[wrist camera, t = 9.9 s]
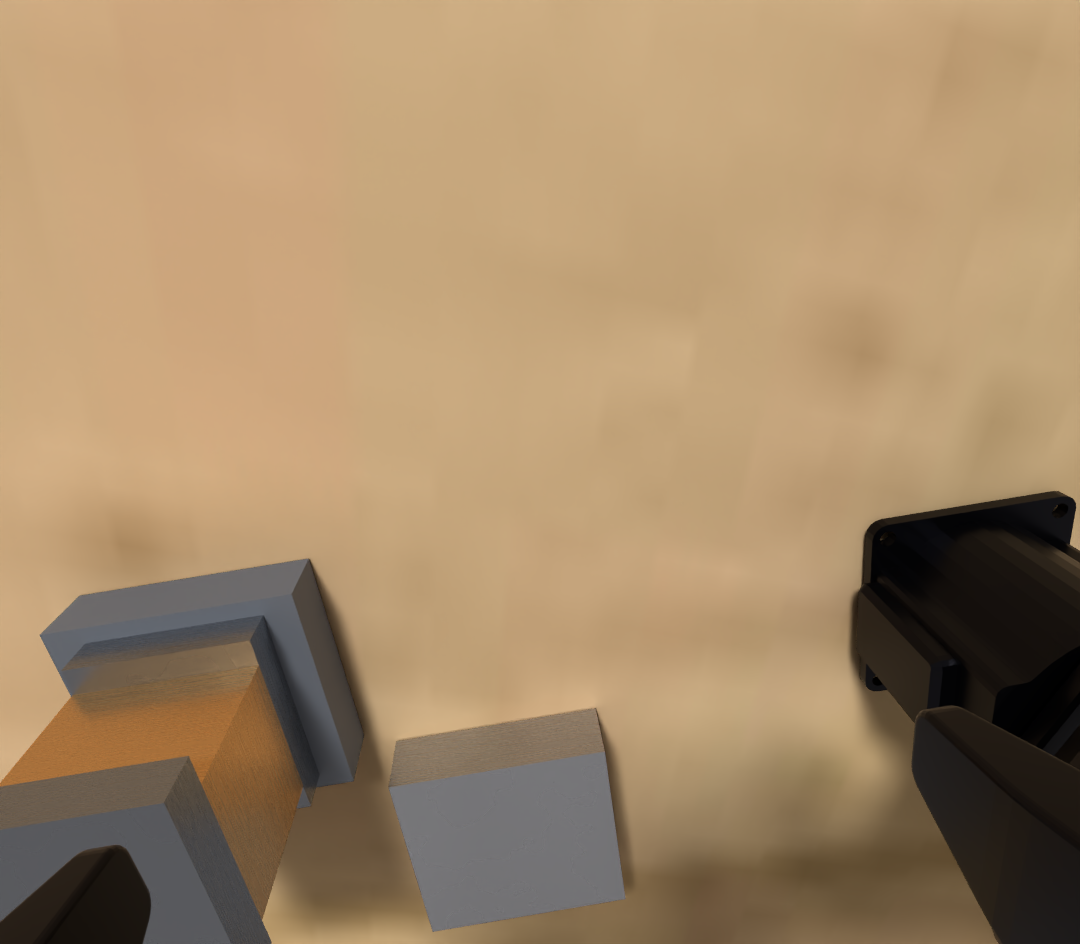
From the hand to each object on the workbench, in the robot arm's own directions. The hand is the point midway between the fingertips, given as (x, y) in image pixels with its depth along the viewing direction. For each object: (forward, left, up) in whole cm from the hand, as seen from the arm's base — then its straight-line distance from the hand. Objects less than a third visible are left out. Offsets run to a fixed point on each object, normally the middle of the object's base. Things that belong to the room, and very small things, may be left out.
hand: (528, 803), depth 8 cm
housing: (+10, +7, -11) cm, 16 cm away
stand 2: (+2, +14, -13) cm, 19 cm away
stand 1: (+10, +7, -13) cm, 18 cm away
